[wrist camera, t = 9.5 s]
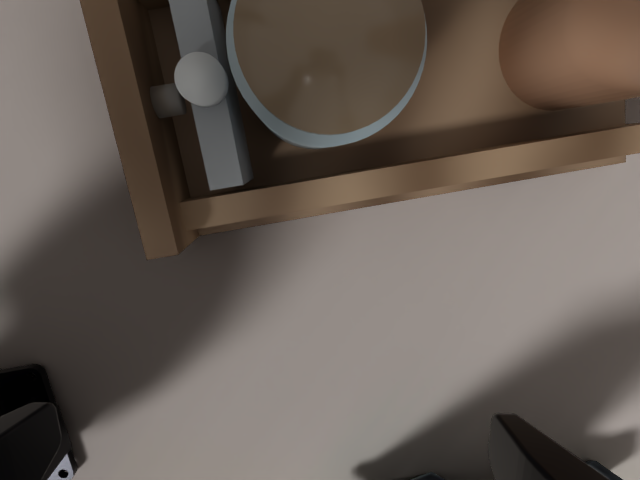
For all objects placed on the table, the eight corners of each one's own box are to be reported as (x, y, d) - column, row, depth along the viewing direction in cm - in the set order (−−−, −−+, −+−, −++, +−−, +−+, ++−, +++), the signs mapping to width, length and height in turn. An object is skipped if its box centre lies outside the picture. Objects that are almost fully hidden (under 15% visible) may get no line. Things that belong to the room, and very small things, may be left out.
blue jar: (263, 158, 19) (245, 161, 11) (238, 27, 18) (199, -71, 10) (383, 138, 19) (446, 127, 12) (366, 7, 18) (424, -104, 10)
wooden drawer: (177, 237, 20) (146, 260, 16) (113, -27, 18) (57, -85, 14) (616, 161, 21) (700, 163, 17) (611, -101, 19) (708, -179, 14)
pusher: (223, 183, 19) (199, 193, 14) (188, 14, 18) (147, -42, 13) (257, 177, 19) (246, 185, 14) (225, 8, 18) (199, -50, 13)
